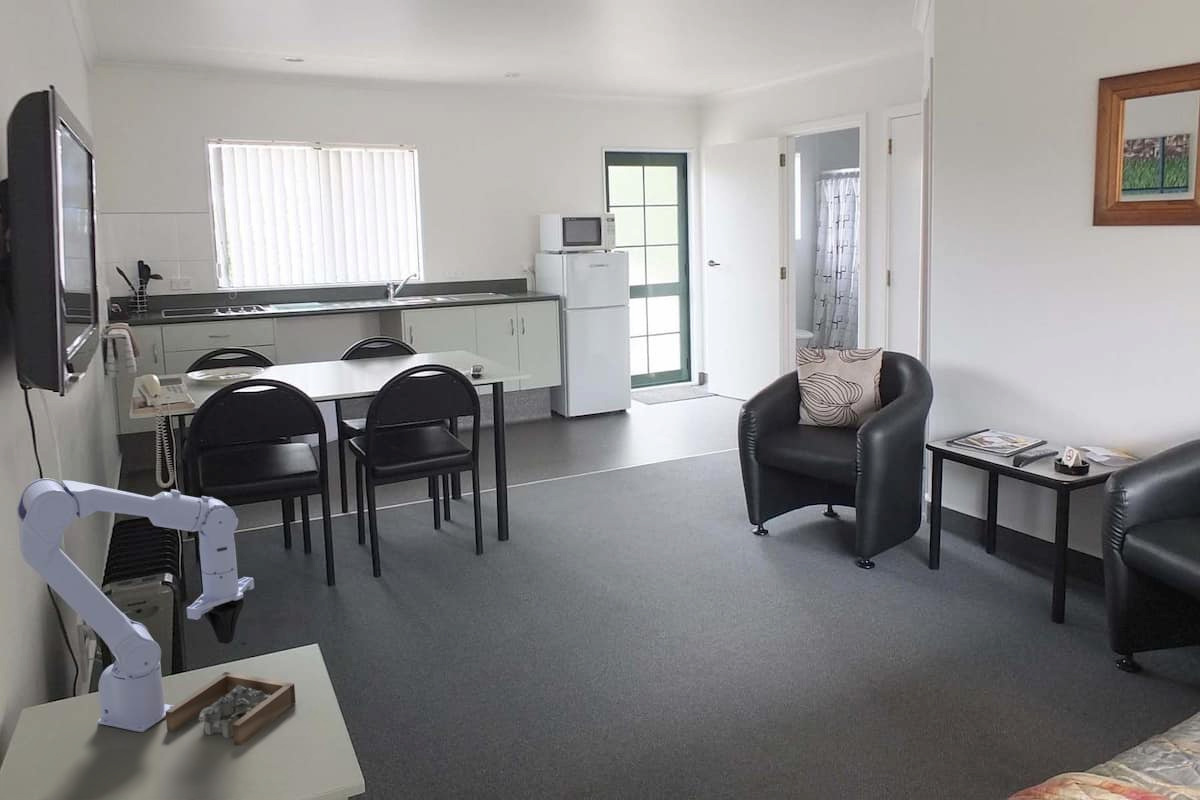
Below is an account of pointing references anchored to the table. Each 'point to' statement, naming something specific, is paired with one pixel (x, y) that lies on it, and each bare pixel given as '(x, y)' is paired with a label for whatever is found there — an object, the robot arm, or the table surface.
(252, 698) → the egg carton
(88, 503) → the robot arm
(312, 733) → the table surface
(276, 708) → the walnut u-shaped frame
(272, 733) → the table surface
